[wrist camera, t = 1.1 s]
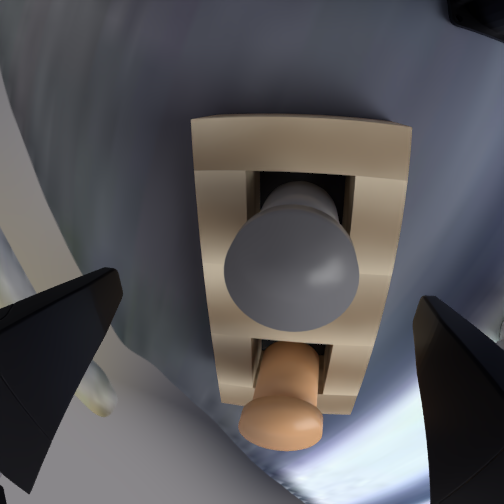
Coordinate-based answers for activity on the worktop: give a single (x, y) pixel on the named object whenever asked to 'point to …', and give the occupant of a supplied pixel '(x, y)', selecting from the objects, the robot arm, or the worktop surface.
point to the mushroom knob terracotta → (284, 399)
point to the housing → (354, 222)
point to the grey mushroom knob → (293, 261)
